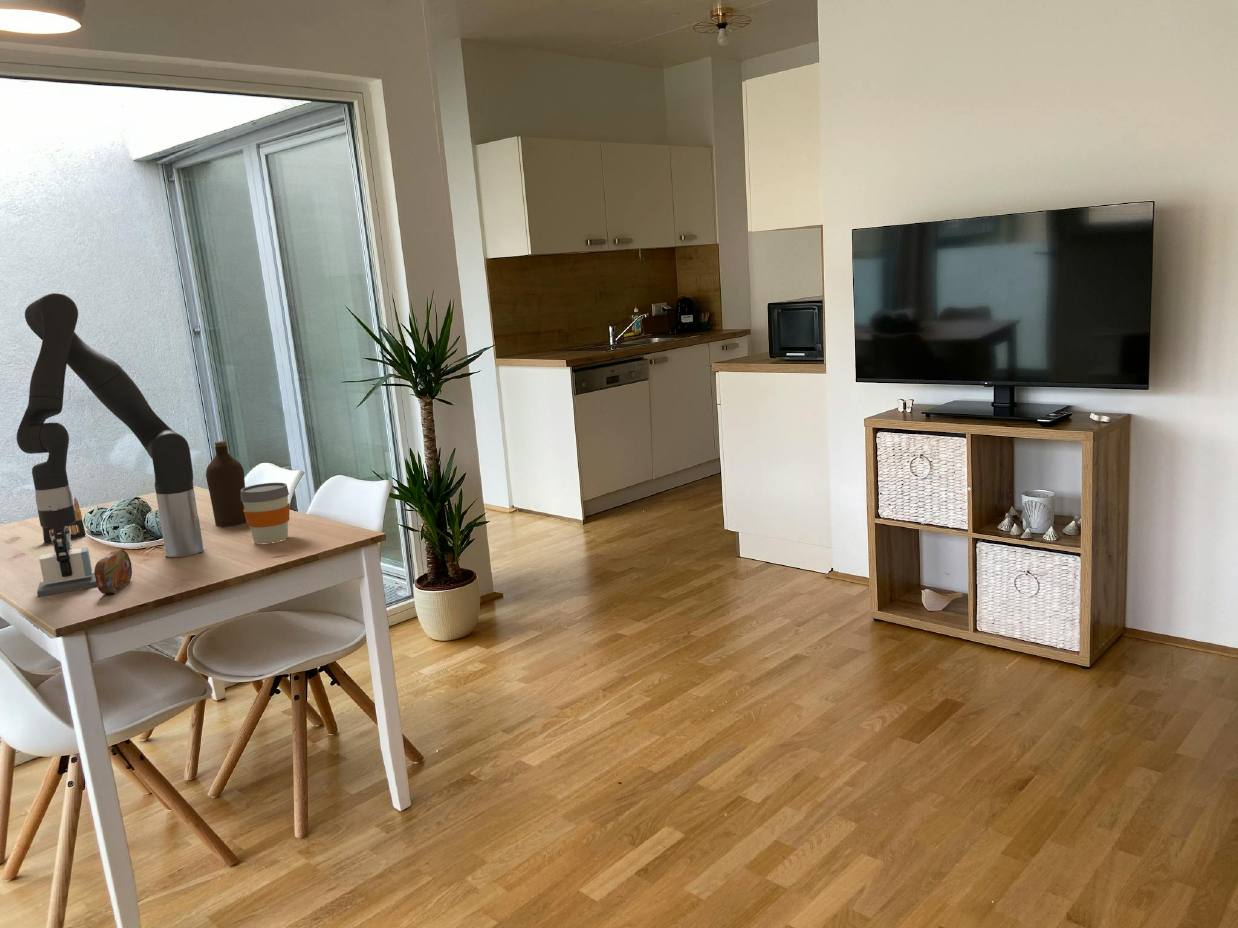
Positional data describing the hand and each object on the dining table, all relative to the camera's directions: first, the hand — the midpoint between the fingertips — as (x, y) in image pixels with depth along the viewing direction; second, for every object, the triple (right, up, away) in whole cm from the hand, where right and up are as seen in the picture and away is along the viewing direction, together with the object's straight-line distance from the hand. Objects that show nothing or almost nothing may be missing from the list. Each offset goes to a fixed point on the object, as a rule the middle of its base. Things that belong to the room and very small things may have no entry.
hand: (67, 573), depth 229 cm
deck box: (0, -1, 0) cm, 1 cm away
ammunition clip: (-30, +4, +49) cm, 58 cm away
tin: (+14, -3, -3) cm, 14 cm away
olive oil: (+17, +9, +57) cm, 60 cm away
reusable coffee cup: (+37, +5, +33) cm, 50 cm away
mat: (0, -3, +1) cm, 3 cm away
